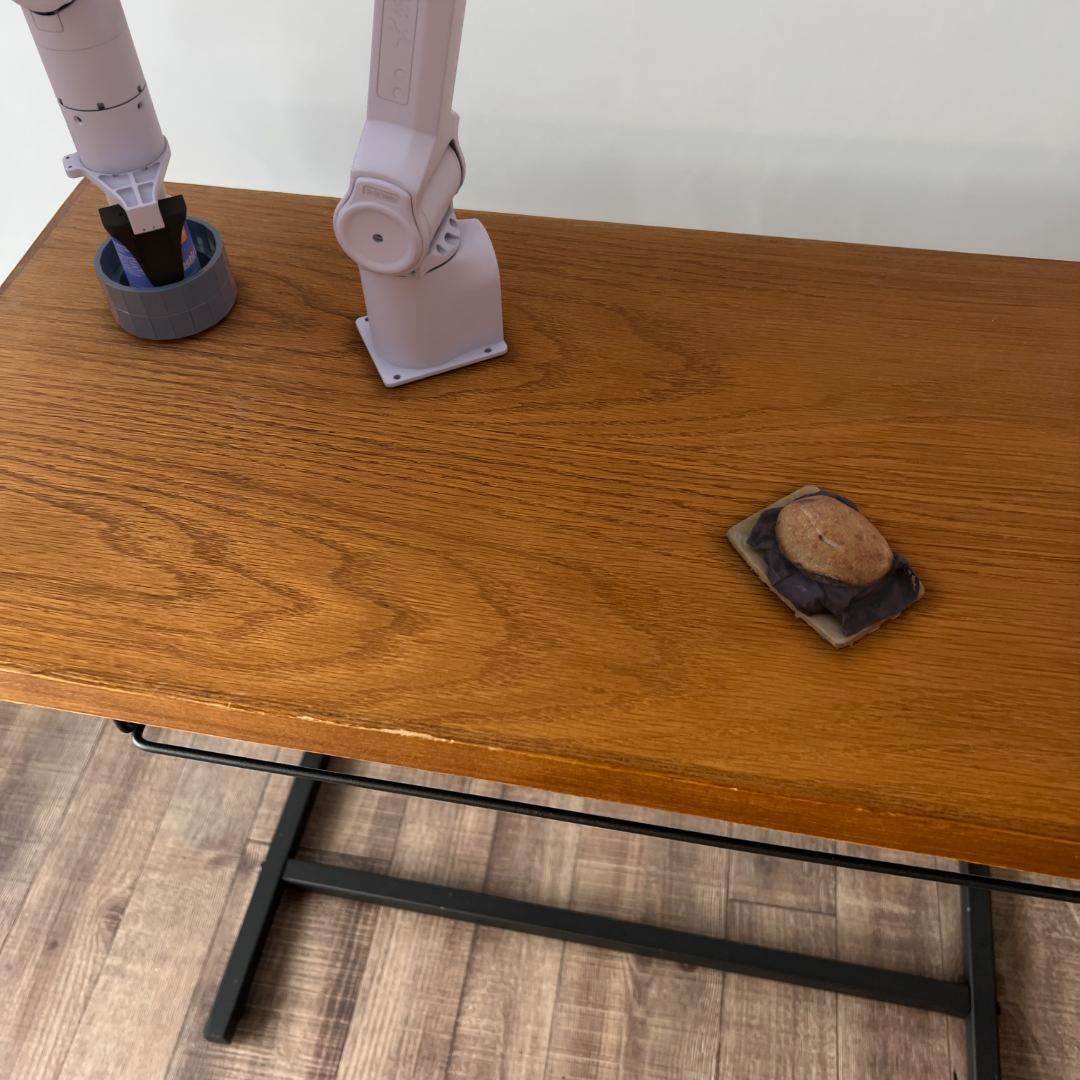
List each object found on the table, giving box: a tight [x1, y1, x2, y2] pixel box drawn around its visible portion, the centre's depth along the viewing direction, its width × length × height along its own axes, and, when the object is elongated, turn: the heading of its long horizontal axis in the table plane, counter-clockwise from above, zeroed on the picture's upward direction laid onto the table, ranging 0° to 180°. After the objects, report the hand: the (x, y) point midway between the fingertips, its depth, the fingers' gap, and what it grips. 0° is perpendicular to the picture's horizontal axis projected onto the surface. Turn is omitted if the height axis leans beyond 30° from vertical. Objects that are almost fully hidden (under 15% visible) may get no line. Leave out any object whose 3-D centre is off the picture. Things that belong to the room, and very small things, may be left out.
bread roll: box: [725, 484, 926, 650], centre depth 66 cm, size 11×8×4 cm
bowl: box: [92, 215, 238, 341], centre depth 82 cm, size 9×9×5 cm
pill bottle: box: [104, 182, 202, 288], centre depth 79 cm, size 5×5×10 cm
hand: (162, 261), depth 81 cm, fingers closed on pill bottle, 5 cm apart
